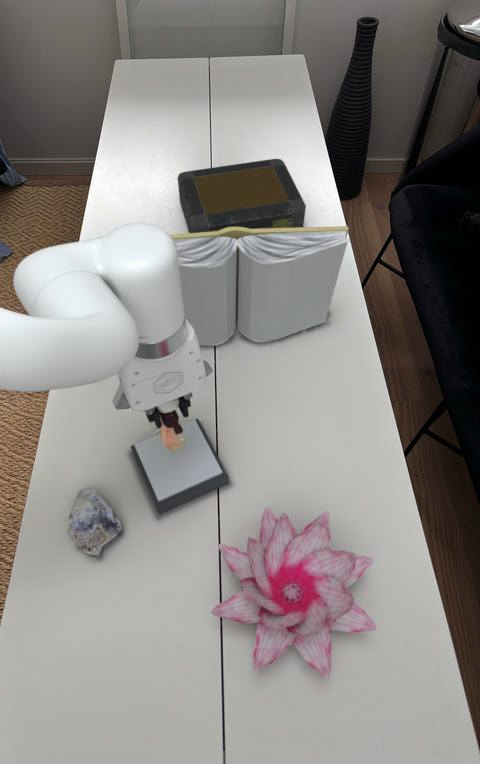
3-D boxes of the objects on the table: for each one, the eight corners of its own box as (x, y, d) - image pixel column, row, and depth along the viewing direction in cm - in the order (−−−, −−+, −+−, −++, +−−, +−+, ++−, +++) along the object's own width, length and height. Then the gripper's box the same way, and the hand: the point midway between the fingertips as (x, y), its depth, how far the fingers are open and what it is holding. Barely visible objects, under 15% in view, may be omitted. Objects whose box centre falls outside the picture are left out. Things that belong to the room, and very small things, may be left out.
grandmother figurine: (148, 431, 83) (134, 384, 73) (169, 417, 84) (158, 368, 74) (179, 466, 80) (168, 422, 69) (199, 451, 81) (192, 405, 71)
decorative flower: (357, 529, 84) (378, 488, 71) (373, 688, 71) (402, 671, 59) (217, 525, 84) (214, 484, 72) (209, 683, 72) (204, 666, 59)
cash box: (279, 183, 134) (281, 154, 127) (304, 236, 122) (308, 208, 116) (178, 198, 130) (175, 169, 124) (195, 255, 119) (192, 226, 113)
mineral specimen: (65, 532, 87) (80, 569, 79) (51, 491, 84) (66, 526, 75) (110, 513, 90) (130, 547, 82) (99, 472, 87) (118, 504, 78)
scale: (159, 515, 85) (156, 507, 82) (132, 453, 91) (129, 444, 89) (228, 483, 88) (228, 475, 85) (198, 425, 94) (197, 416, 92)
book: (324, 307, 110) (346, 219, 88) (330, 340, 106) (355, 257, 84) (142, 319, 108) (119, 233, 86) (142, 353, 105) (118, 272, 83)
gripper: (91, 379, 57) (121, 460, 72) (233, 326, 61) (234, 413, 76) (70, 329, 61) (103, 416, 76) (206, 283, 65) (212, 373, 80)
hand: (169, 414), depth 76 cm, fingers closed on grandmother figurine, 3 cm apart
